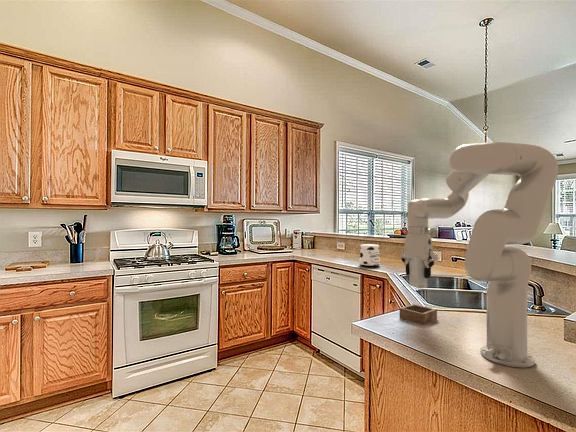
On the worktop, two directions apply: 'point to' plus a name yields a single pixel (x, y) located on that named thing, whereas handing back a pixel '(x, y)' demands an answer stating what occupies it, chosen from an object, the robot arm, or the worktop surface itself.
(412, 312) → the brown wooden tray
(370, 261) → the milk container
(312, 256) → the worktop surface
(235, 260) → the worktop surface
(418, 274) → the skincare box
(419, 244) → the robot arm
